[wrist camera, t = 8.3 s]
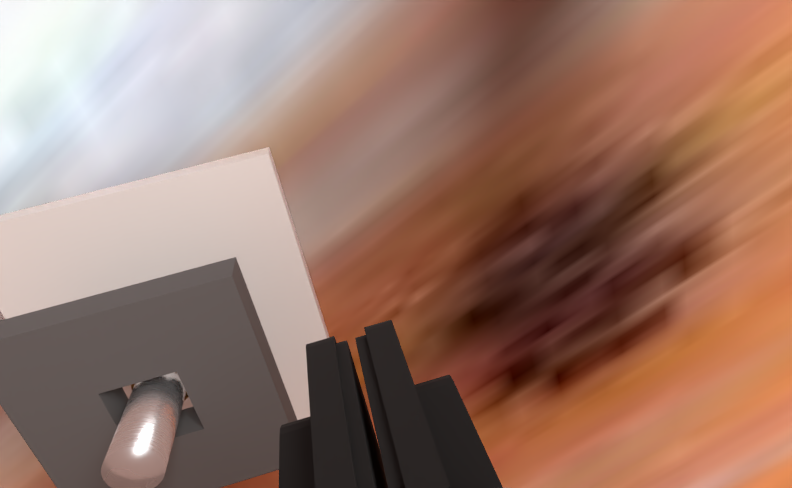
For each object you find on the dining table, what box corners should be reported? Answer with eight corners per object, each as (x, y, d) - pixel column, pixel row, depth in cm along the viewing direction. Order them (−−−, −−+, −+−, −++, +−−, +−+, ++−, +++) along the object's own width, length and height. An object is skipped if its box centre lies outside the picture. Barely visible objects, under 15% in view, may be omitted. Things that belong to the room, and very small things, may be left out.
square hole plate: (-13, 324, 30) (-38, 349, 27) (235, 256, 31) (232, 276, 29) (97, 496, 36) (85, 529, 33) (303, 434, 37) (304, 461, 35)
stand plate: (-31, 222, 35) (-48, 233, 33) (269, 146, 37) (268, 153, 35) (113, 461, 44) (105, 480, 42) (346, 391, 46) (349, 407, 44)
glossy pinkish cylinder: (144, 319, 38) (81, 456, 26) (194, 305, 38) (154, 434, 26) (164, 359, 39) (112, 506, 28) (212, 345, 40) (182, 484, 28)
